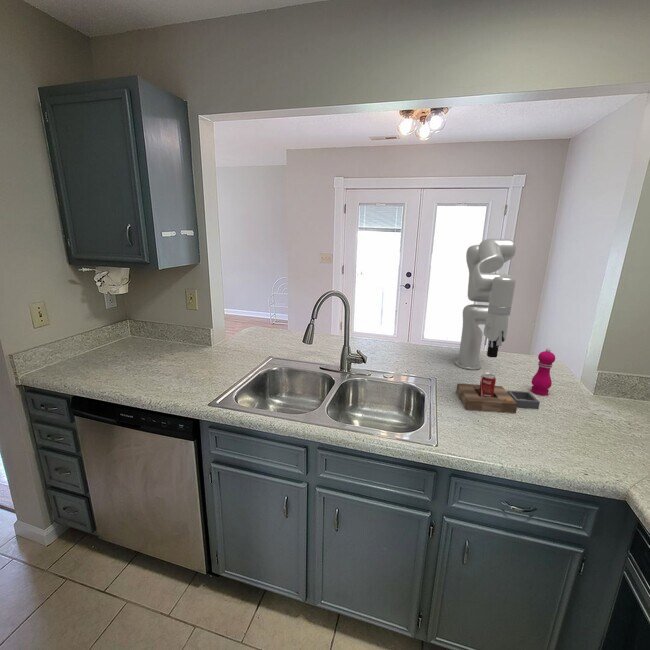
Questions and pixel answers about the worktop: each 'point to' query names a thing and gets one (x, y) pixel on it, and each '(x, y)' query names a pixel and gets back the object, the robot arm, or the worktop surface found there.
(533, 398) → the holster
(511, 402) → the block
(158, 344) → the worktop surface
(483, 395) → the soda can
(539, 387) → the pepper mill
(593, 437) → the worktop surface
